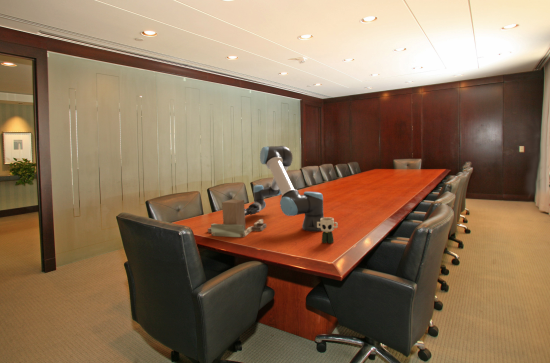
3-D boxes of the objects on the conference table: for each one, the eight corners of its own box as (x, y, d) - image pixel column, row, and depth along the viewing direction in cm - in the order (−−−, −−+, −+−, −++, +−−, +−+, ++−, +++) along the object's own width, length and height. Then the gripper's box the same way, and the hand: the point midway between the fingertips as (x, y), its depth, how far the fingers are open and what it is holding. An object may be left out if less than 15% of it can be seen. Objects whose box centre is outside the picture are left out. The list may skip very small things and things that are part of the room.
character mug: (316, 244, 161) (316, 220, 160) (318, 240, 168) (317, 217, 167) (337, 244, 159) (337, 220, 157) (338, 240, 166) (337, 217, 164)
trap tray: (228, 221, 222) (227, 211, 221) (271, 222, 212) (271, 212, 211) (202, 235, 189) (201, 224, 188) (253, 237, 178) (252, 226, 178)
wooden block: (233, 229, 198) (231, 199, 196) (246, 231, 194) (244, 199, 191) (223, 234, 189) (221, 202, 187) (237, 235, 185) (235, 202, 183)
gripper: (263, 213, 225) (251, 221, 203) (246, 212, 229) (233, 220, 207) (262, 203, 224) (250, 210, 202) (246, 203, 228) (232, 209, 206)
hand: (242, 215), depth 204 cm, fingers closed
